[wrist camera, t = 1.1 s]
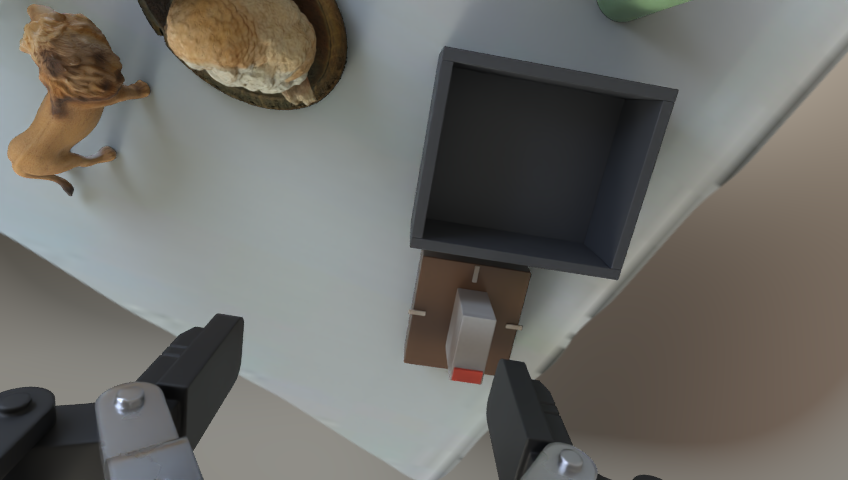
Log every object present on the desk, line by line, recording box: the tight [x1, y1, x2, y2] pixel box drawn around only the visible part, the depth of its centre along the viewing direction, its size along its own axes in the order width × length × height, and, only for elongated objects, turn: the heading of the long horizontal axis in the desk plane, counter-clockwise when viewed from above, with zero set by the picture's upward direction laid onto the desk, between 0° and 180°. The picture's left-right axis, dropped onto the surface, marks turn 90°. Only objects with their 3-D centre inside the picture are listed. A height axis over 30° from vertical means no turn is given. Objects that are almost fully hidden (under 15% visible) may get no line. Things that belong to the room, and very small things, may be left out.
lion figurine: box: [7, 4, 150, 196], centre depth 33 cm, size 15×5×9 cm, turn 150°
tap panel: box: [404, 249, 531, 376], centre depth 41 cm, size 10×10×3 cm
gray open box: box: [410, 46, 678, 280], centre depth 35 cm, size 14×16×7 cm
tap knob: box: [446, 288, 497, 384], centre depth 37 cm, size 6×2×5 cm, turn 170°
